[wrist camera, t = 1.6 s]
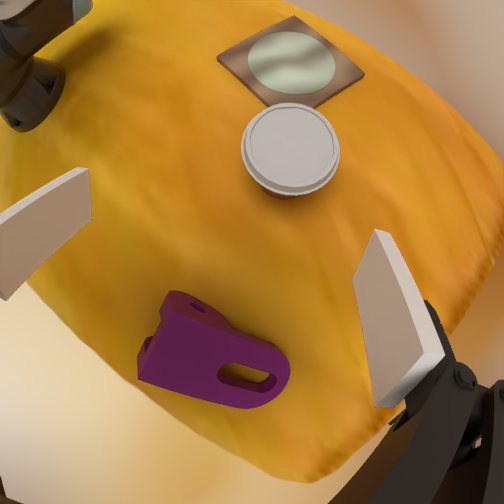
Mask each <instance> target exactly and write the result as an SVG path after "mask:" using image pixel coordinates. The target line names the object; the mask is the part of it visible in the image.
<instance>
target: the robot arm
mask: <svg viewBox="0 0 504 504" xmlns="http://www.w3.org/2000/svg"><path fill="white" fill-rule="evenodd" d="M92 7H93V2H92V0H0V114H1V116H2V117H3V119H4V120H5V121H6V123H7V124H8V125H9V126H10V127H11V128H13V129H15V130H17V131H19V132H26V131H29V130H31V129H32V128H34V127H36V126H37V125H38V124H39V123H40V122H41V121H42V120H43V119H44V118H45V117H46V116H47V115H48V114H49V113H50V111H51V110H52V109H53V107H54V106H55V104H56V102H57V101H58V99H59V97H60V95H61V92H62V90H63V87H64V82H65V73H64V70H63V69H62V68H61V67H60V66H59V65H58V64H57V63H55V62H53V61H49V60H46V59H42V58H38V57H35V56H33V55H34V54H35V53H36V52H38V51H39V50H40V49H41V48H42V47H44V46H45V45H46V44H48V43H49V42H50V41H51V40H53V39H54V38H55V37H57V36H58V35H59V34H61V33H62V32H64V31H65V30H66V29H68V28H69V27H71V26H73V25H74V24H75V23H76V22H77V21H78V20H80V19H81V18H83V17H84V16H85V15H87V14H88V13H89V12H90V11H91V9H92ZM91 220H92V214H91V201H90V184H89V169H88V168H81V167H77V168H75V169H73V170H71V171H69V172H67V173H65V174H63V175H62V176H60V177H58V178H56V179H54V180H53V181H51V182H49V183H48V184H46V185H44V186H42V187H41V188H39V189H37V190H36V191H34V192H32V193H31V194H29V195H28V196H26V197H24V198H23V199H21V200H20V201H18V202H17V203H15V204H14V205H12V206H11V207H9V208H8V209H6V210H5V211H3V212H2V213H0V298H2V299H3V300H5V301H7V300H8V299H9V297H10V296H11V295H12V294H13V293H14V292H15V291H16V290H17V289H18V288H19V287H20V286H21V285H22V284H23V283H24V282H25V281H26V280H27V279H28V278H29V277H30V276H31V275H32V274H33V273H34V272H35V271H36V270H37V269H38V268H39V267H40V266H41V265H42V264H43V263H44V262H45V261H46V260H47V259H48V258H49V257H50V256H51V255H52V254H53V253H54V252H56V251H57V250H58V249H59V248H60V247H61V246H62V245H63V244H64V243H65V242H67V241H68V240H69V239H70V238H71V237H72V236H73V235H75V234H76V233H77V232H78V231H79V230H80V229H81V228H83V227H84V226H85V225H86V224H87V223H89V222H90V221H91ZM352 282H353V286H354V291H355V295H356V300H357V305H358V310H359V315H360V320H361V325H362V330H363V336H364V341H365V347H366V353H367V359H368V365H369V372H370V379H371V386H372V394H373V402H374V407H379V408H395V407H396V406H397V405H398V404H399V403H400V402H401V401H402V400H403V399H404V398H405V403H406V409H404V410H403V411H402V412H401V413H400V414H399V415H397V416H396V417H395V418H394V419H393V420H392V421H391V422H389V423H388V424H389V425H392V424H393V423H394V424H393V425H392V427H391V428H390V430H389V431H388V432H387V434H386V435H385V437H384V438H383V439H382V441H381V442H380V444H379V445H378V446H377V447H376V449H375V450H374V452H373V453H372V454H371V455H370V456H369V458H368V459H367V460H366V462H365V463H364V464H363V465H362V466H361V468H360V469H359V470H358V471H357V472H356V474H355V475H354V476H353V477H352V478H351V480H349V482H348V483H347V484H346V485H345V486H344V487H343V488H342V490H341V491H340V492H339V493H338V494H337V495H336V496H335V497H334V498H333V499H332V500H331V501H330V502H329V503H328V504H504V380H498V381H497V382H496V383H495V384H494V385H493V386H492V387H491V388H490V389H489V388H486V387H484V386H481V385H479V384H478V383H477V379H476V376H475V375H474V373H473V371H472V370H471V369H470V368H469V367H468V366H466V365H465V364H463V363H460V362H456V359H455V356H454V354H453V351H452V348H451V346H450V343H449V341H448V338H447V336H446V334H445V332H444V329H443V326H442V324H440V319H439V317H438V315H437V313H436V311H435V309H434V308H433V307H432V306H431V305H430V303H429V302H428V301H427V300H423V299H422V297H421V294H420V292H419V290H418V288H417V286H416V284H415V281H414V279H413V277H412V275H411V273H410V271H409V269H408V267H407V265H406V263H405V261H404V259H403V257H402V255H401V253H400V251H399V250H398V248H397V246H396V244H395V242H394V240H393V238H392V236H391V235H390V233H388V232H385V231H381V230H378V229H374V230H373V233H372V235H371V238H370V240H369V242H368V245H367V247H366V249H365V252H364V254H363V256H362V259H361V261H360V263H359V266H358V268H357V270H356V272H355V274H354V277H353V279H352ZM481 437H482V439H481V445H480V446H479V447H477V448H475V443H476V441H477V440H478V439H480V438H481ZM0 504H22V503H20V502H17V501H14V500H12V499H9V498H7V497H6V495H5V491H4V487H3V484H2V480H1V477H0Z"/></svg>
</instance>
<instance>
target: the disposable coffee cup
mask: <svg viewBox="0 0 504 504" xmlns="http://www.w3.org/2000/svg"><path fill="white" fill-rule="evenodd" d="M241 153H242V158H243V161H244V164H245V166H246V168H247V170H248V172H249V173H250V174H251V175H252V177H253V178H254V179H255V180H256V181H257V182H258V183H259V184H261V186H262V187H263V189H264V190H265V191H266V192H267V193H268V194H269V195H271V196H272V197H275V198H278V199H290V198H293V197H295V196H297V195H302V194H308V193H311V192H313V191H315V190H317V189H319V188H321V187H322V186H324V185H325V184H326V183H327V182H328V181H329V180H330V179H331V177H332V176H333V175H334V173H335V171H336V169H337V167H338V163H339V158H340V146H339V142H338V139H337V136H336V134H335V131H334V129H333V127H332V126H331V124H330V123H329V121H328V120H327V119H326V118H325V117H324V116H323V115H322V114H320V113H319V112H317V111H316V110H314V109H312V108H311V107H308V106H305V105H302V104H297V103H280V104H276V105H273V106H271V107H268V108H266V109H264V110H263V111H262V112H260V113H259V114H257V115H256V116H255V117H254V118H253V119H252V120H251V121H250V123H249V124H248V125H247V127H246V129H245V131H244V134H243V137H242V141H241Z"/></svg>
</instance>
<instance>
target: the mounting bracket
mask: <svg viewBox="0 0 504 504" xmlns="http://www.w3.org/2000/svg"><path fill="white" fill-rule="evenodd" d="M160 317H161V322H160V324H159V326H158V328H157V330H156V332H155V334H154V336H150V337H147V338H146V339H145V341H144V343H143V345H142V347H141V349H140V351H139V353H138V356H137V367H138V380H141V381H144V382H147V383H150V384H153V385H155V386H158V387H162V388H165V389H168V390H171V391H174V392H178V393H181V394H184V395H188V396H191V397H195V398H199V399H202V400H206V401H210V402H214V403H218V404H222V405H226V406H231V407H235V408H241V409H250V408H255V407H259V406H262V405H264V404H266V403H268V402H270V401H271V400H273V399H274V398H275V397H277V396H278V395H279V394H280V393H281V392H282V390H283V389H284V388H285V386H286V384H287V382H288V380H289V376H290V365H289V362H288V360H287V359H286V357H285V356H284V355H283V354H282V353H281V352H280V351H279V350H278V348H277V347H275V346H274V345H273V344H271V343H268V342H266V341H263V340H260V339H258V338H255V337H252V336H250V335H247V334H245V333H242V332H240V331H237V330H235V329H233V328H232V327H231V326H230V325H229V324H228V322H227V321H226V319H225V318H224V317H223V316H222V315H221V314H220V313H219V312H218V311H216V310H215V309H214V308H212V307H210V306H209V305H207V304H205V303H203V302H202V301H200V300H198V299H197V298H195V297H193V296H190V295H188V294H186V293H183V292H179V291H169V292H168V294H167V296H166V298H165V300H164V302H163V304H162V306H161V308H160ZM231 362H234V363H238V364H241V365H244V366H248V367H251V368H254V369H257V370H261V371H264V372H268V373H270V376H269V377H268V379H267V380H266V381H264V382H263V383H260V384H252V383H248V382H245V381H241V380H237V379H234V378H230V377H227V376H224V375H220V374H218V373H217V372H218V370H219V369H220V367H222V366H223V365H224V364H227V363H231Z"/></svg>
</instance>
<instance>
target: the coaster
mask: <svg viewBox="0 0 504 504" xmlns="http://www.w3.org/2000/svg"><path fill="white" fill-rule="evenodd" d="M216 57H217V61H218V62H219V63H221V64H222V65H223V66H224V67H225V68H226V69H227V70H229V71H230V72H231V73H232V74H233V75H234V76H235V77H236V78H237V79H238V80H240V81H241V82H242V83H243V84H244V85H245V86H246V87H247V88H248V89H249V90H250V91H251V92H252V93H253V94H254V95H256V96H257V97H258V98H259V99H260V100H261V101H262V102H263V103H264V104H265V105H266V106H267V107H271V106H273V105H276V104H280V103H297V104H302V105H305V106H308V107H311V108H312V109H315V108H316V107H318V106H319V105H321V104H322V103H324V102H325V101H327V100H328V99H330V98H331V97H333V96H334V95H336V94H337V93H339V92H341V91H342V90H344V89H345V88H347V87H348V86H350V85H352V84H353V83H355V82H357V81H358V80H360V79H361V78H363V77H364V75H365V73H364V72H363V71H362V70H361V69H360V68H359V67H358V66H357V65H356V64H355V63H353V62H352V61H351V60H350V59H349V58H348V57H347V56H346V55H344V54H343V53H342V52H341V51H340V50H339V49H337V48H336V47H335V46H334V45H333V44H331V43H330V42H329V41H328V40H327V39H325V38H324V37H323V36H322V35H320V34H319V33H318V32H316V31H315V30H314V29H312V28H311V27H310V26H308V25H307V24H306V23H304V22H303V21H302V20H300V19H299V18H297V17H296V16H295V15H294V16H292V17H290V18H287V19H285V20H283V21H281V22H279V23H277V24H274V25H272V26H270V27H268V28H266V29H264V30H262V31H260V32H258V33H256V34H255V35H253V36H251V37H249V38H247V39H245V40H243V41H242V42H240V43H238V44H236V45H235V46H233V47H231V48H229V49H228V50H226V51H224V52H223V53H221V54H219V55H218V56H216Z"/></svg>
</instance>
